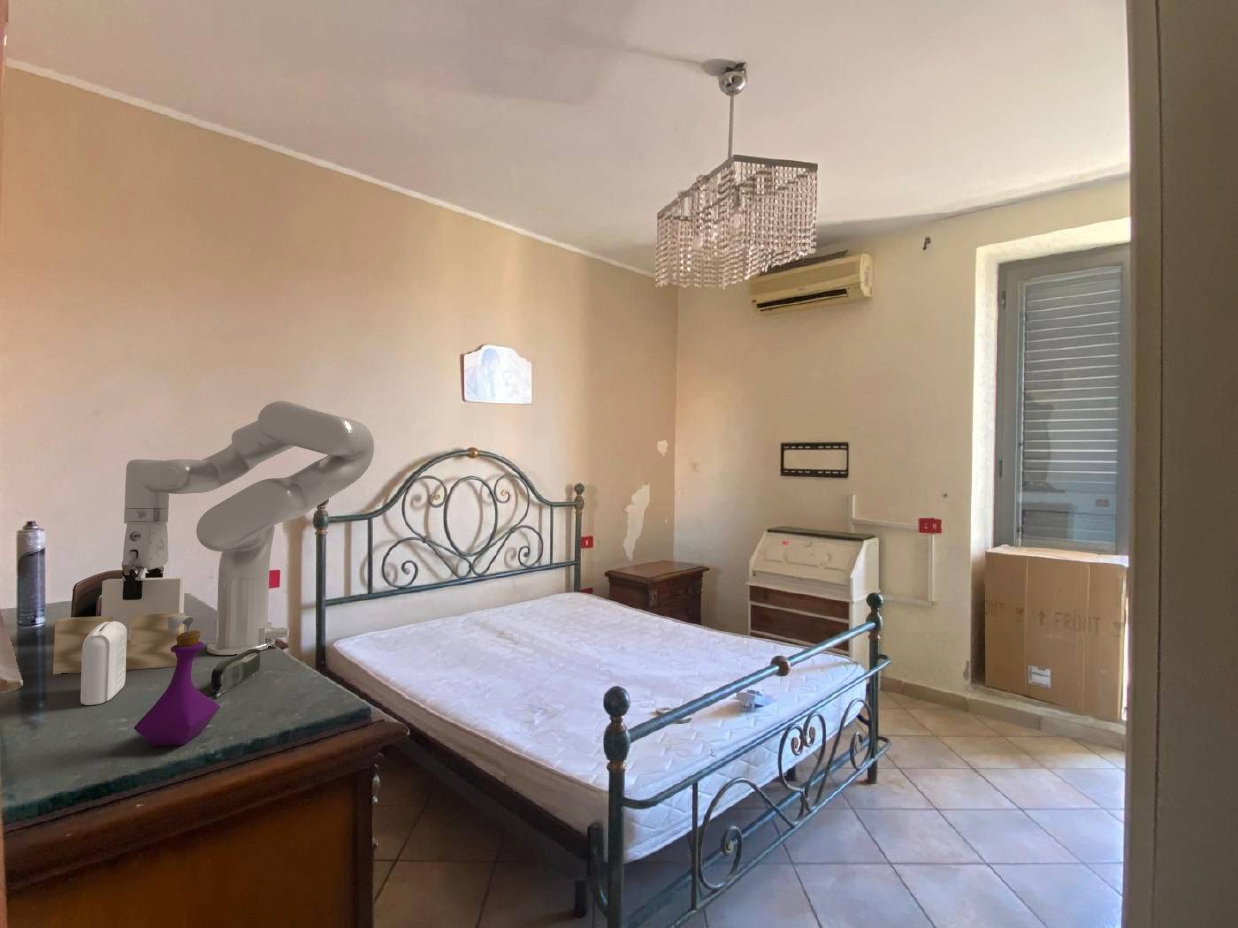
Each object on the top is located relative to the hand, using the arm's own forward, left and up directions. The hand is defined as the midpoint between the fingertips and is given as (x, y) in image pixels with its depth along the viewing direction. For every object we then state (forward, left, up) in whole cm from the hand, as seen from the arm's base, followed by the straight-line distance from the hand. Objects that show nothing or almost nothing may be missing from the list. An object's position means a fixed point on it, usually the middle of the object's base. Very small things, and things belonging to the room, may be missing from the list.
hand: (143, 594), depth 128 cm
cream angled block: (0, 0, -12) cm, 12 cm away
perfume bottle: (-25, +52, -12) cm, 59 cm away
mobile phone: (-26, +29, -12) cm, 40 cm away
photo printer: (-6, +30, -12) cm, 32 cm away
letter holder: (+11, -18, -12) cm, 25 cm away
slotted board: (-2, +14, -12) cm, 18 cm away
